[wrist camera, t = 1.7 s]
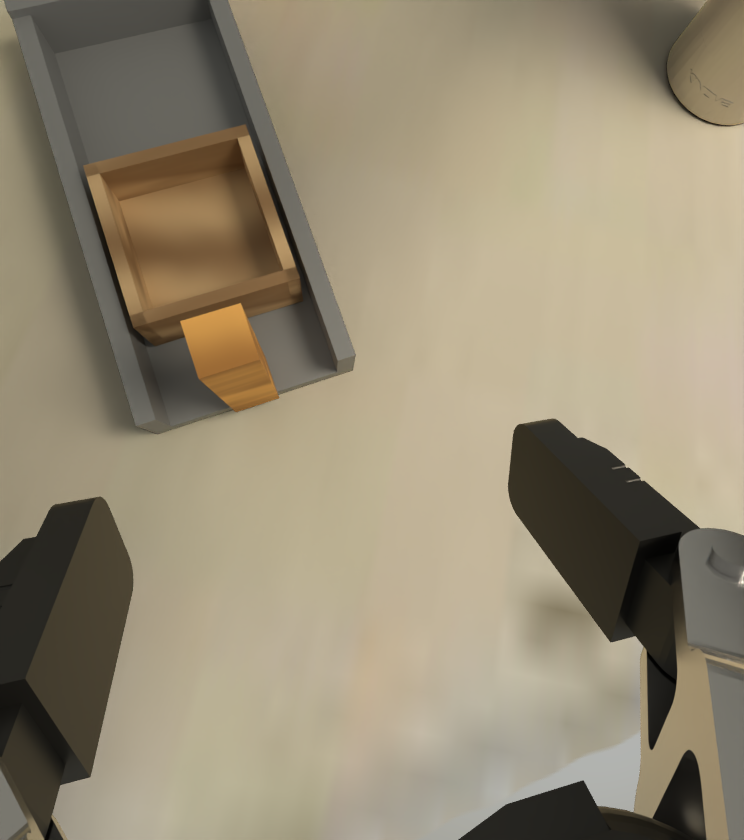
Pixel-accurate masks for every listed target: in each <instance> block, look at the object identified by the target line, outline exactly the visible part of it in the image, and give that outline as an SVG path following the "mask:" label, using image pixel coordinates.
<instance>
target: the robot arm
mask: <svg viewBox="0 0 744 840" xmlns="http://www.w3.org/2000/svg"><path fill="white" fill-rule="evenodd" d="M667 74H668V78H669V83H670V85H671V87H672V89H673V92H674V94H675V95H676V96H677V98H678V99H679V101H680V102H681V103H682V104H683V105H684V106H685V107H686V108H687V109H688V110H689V111H690V112H692V113H693V114H695V115H696V116H698V117H699V118H702V119H704V120H706V121H708V122H711V123H716V124H720V125H736V124H741V123H744V0H707V1H706V3H705V4H704V5H703V7H702V8H701V9H700V11H699V12H698V13H697V15H696V16H695V17H694V18H693V20H692V21H691V22H690V24H689V25H688V26H687V28H686V29H685V30H684V32H683V33H682V34H681V35H680V37H679V38H678V39H677V41H676V42H675V43H674V45H673V47H672V49H671V51H670V52H669V56H668V61H667ZM508 492H509V498H510V501H511V504H512V507H513V509H514V511H515V513H516V514H517V516H518V517H519V518H520V520H521V521H522V523H523V524H524V525H525V527H526V528H527V529H528V531H529V532H530V533H531V535H532V536H533V538H534V539H535V540H536V542H537V543H538V544H539V546H540V547H541V548H542V550H543V551H544V552H545V554H546V555H547V557H548V558H549V559H550V561H551V562H552V563H553V565H554V566H555V567H556V569H557V570H558V572H559V573H560V574H561V576H562V577H563V578H564V580H565V581H566V582H567V584H568V585H569V586H570V588H571V589H572V591H573V592H574V593H575V595H576V596H577V597H578V599H579V600H580V601H581V603H582V604H583V606H584V607H585V608H586V610H587V611H588V612H589V614H590V615H591V616H592V618H593V619H594V620H595V622H596V623H597V625H598V626H599V627H600V629H601V630H602V631H603V633H604V634H605V635H606V637H607V638H608V640H609V641H610V642H615V641H618V640H622V639H626V638H630V637H633V636H636V637H637V639H638V640H639V641H640V642H641V644H642V645H643V646H644V647H643V650H642V653H641V657H640V714H641V764H640V774H639V781H638V785H637V790H636V797H635V805H634V812H630V811H627V810H622V809H616V808H609V807H601V806H597V805H596V803H595V801H594V799H593V797H592V796H591V794H590V792H589V790H588V788H587V786H586V784H585V783H584V781H580V782H577V783H573V784H570V785H567V786H564V787H561V788H558V789H554V790H551V791H548V792H545V793H541V794H538V795H535V796H532V797H529V798H525V799H522V800H519V801H516V802H513V803H509V804H507V805H505V806H504V807H502V808H501V809H499V810H498V811H497V812H495V813H494V814H493V815H491V816H490V817H489V818H487V819H486V820H484V821H483V822H482V823H480V824H479V825H478V826H476V827H475V828H474V829H472V830H471V831H470V832H468V833H467V834H466V835H464V836H463V837H461V838H460V839H459V840H744V535H741V534H738V533H735V532H731V531H727V530H722V529H714V528H701V529H700V528H699V527H698V526H697V525H696V524H694V523H693V522H692V521H691V520H690V519H689V518H687V517H686V516H685V515H684V514H683V513H682V512H680V511H679V510H678V509H677V508H676V507H674V506H673V505H672V504H671V503H670V502H669V501H667V500H666V499H665V498H664V497H663V496H662V495H660V494H659V493H658V492H657V491H656V490H655V489H653V488H652V487H651V486H650V485H649V484H647V483H646V482H645V481H641V480H640V477H639V476H638V475H637V474H636V473H635V472H633V471H632V470H631V469H630V468H626V467H625V464H624V463H623V462H622V461H620V460H619V459H618V458H617V457H616V456H615V455H613V454H612V453H611V452H610V451H609V450H608V449H606V448H604V447H602V446H599V445H597V444H595V443H593V442H591V441H589V440H587V439H585V438H577V437H576V436H575V435H574V434H573V433H571V432H570V431H569V430H568V429H567V428H566V427H565V426H564V425H563V424H561V423H560V422H559V421H558V420H556V419H547V420H541V421H536V422H530V423H524V424H519V425H517V426H516V428H515V430H514V434H513V442H512V452H511V461H510V471H509V481H508ZM132 591H133V570H132V565H131V561H130V558H129V555H128V552H127V550H126V548H125V545H124V543H123V540H122V538H121V535H120V533H119V530H118V528H117V525H116V523H115V521H114V518H113V516H112V513H111V511H110V508H109V506H108V504H107V502H106V501H105V500H104V499H103V498H102V497H96V498H90V499H84V500H78V501H73V502H67V503H61V504H56V505H54V506H52V507H51V509H50V510H49V512H48V514H47V516H46V518H45V520H44V522H43V524H42V526H41V528H40V530H39V532H38V534H37V536H36V537H33V538H27V539H23V540H22V541H21V542H20V543H19V544H18V545H17V546H16V547H15V548H14V549H13V550H12V551H11V552H10V553H9V554H8V555H7V556H6V557H5V558H3V559H2V560H1V561H0V840H68V839H67V837H66V836H65V834H64V832H63V830H62V828H61V827H60V825H59V823H58V821H57V820H56V818H55V817H54V816H53V814H52V813H53V809H54V805H55V802H56V798H57V794H58V791H59V787H60V785H62V784H66V783H70V782H74V781H77V780H81V779H85V778H89V777H91V772H92V768H93V763H94V759H95V755H96V750H97V746H98V741H99V737H100V733H101V728H102V724H103V719H104V715H105V711H106V706H107V702H108V697H109V693H110V689H111V684H112V680H113V675H114V671H115V667H116V662H117V658H118V653H119V649H120V645H121V640H122V636H123V631H124V627H125V623H126V618H127V614H128V609H129V605H130V601H131V596H132Z"/></svg>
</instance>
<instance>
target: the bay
mask: <svg viewBox="0 0 744 840" xmlns="http://www.w3.org/2000/svg"><path fill="white" fill-rule="evenodd" d="M4 2H5V6H6V9H7V12H8V13H9V15H10V16H11V18H12V20H13V24H14V27H15V30H16V33H17V37H18V40H19V43H20V47H21V50H22V53H23V56H24V60H25V63H26V66H27V70H28V73H29V76H30V80H31V83H32V86H33V89H34V93H35V96H36V99H37V103H38V106H39V109H40V112H41V116H42V119H43V122H44V126H45V129H46V132H47V136H48V139H49V142H50V145H51V149H52V152H53V155H54V159H55V162H56V165H57V168H58V172H59V175H60V178H61V182H62V185H63V188H64V192H65V195H66V198H67V201H68V205H69V208H70V211H71V215H72V218H73V221H74V224H75V228H76V231H77V234H78V238H79V241H80V244H81V248H82V251H83V254H84V257H85V261H86V264H87V267H88V271H89V274H90V277H91V280H92V284H93V287H94V290H95V294H96V297H97V300H98V304H99V307H100V310H101V313H102V317H103V320H104V323H105V327H106V330H107V333H108V336H109V340H110V343H111V346H112V350H113V353H114V356H115V360H116V363H117V366H118V369H119V373H120V376H121V379H122V383H123V386H124V389H125V392H126V396H127V399H128V402H129V406H130V409H131V412H132V416H133V419H134V422H135V425H136V426H137V427H139V428H142V429H145V430H148V431H151V432H154V433H156V434H160V433H163V432H166V431H169V430H172V429H175V428H178V427H181V426H184V425H187V424H190V423H193V422H196V421H199V420H202V419H206V418H209V417H212V416H215V415H218V414H221V413H224V412H227V411H230V410H233V409H232V408H231V407H230V406H229V405H227V404H226V403H225V402H224V401H223V400H222V399H221V398H220V397H218V396H217V395H216V394H215V393H214V392H213V391H212V390H211V389H209V388H208V387H207V386H206V385H205V384H204V383H203V382H202V381H201V380H199V378H198V375H197V372H196V369H195V366H194V363H193V360H192V357H191V353H190V350H189V347H188V344H187V341H186V338H185V337H184V338H180V339H177V340H174V341H171V342H167V343H164V344H161V345H157V346H154V345H153V344H152V343H150V342H149V341H148V340H147V339H146V338H145V337H143V336H142V335H141V334H140V333H139V332H138V331H136V330H135V329H134V328H133V325H132V322H131V319H130V315H129V312H128V309H127V306H126V303H125V299H124V296H123V293H122V290H121V286H120V283H119V280H118V277H117V274H116V270H115V267H114V264H113V261H112V257H111V254H110V251H109V248H108V245H107V241H106V238H105V235H104V232H103V228H102V225H101V222H100V219H99V216H98V212H97V209H96V206H95V203H94V199H93V196H92V193H91V190H90V187H89V183H88V180H87V177H86V174H85V170H84V167H83V165H87V164H91V163H95V162H99V161H103V160H107V159H111V158H115V157H119V156H123V155H127V154H130V153H134V152H138V151H142V150H146V149H150V148H154V147H158V146H162V145H166V144H170V143H174V142H178V141H182V140H186V139H190V138H193V137H197V136H201V135H205V134H209V133H213V132H217V131H221V130H225V129H229V128H233V127H237V126H241V125H245V124H246V127H247V130H248V132H249V135H250V138H251V141H252V144H253V147H254V149H255V152H256V155H257V158H258V161H259V164H260V166H261V169H262V172H263V175H264V178H265V180H266V183H267V186H268V189H269V192H270V195H271V197H272V200H273V203H274V206H275V209H276V212H277V214H278V217H279V220H280V223H281V226H282V228H283V231H284V234H285V237H286V240H287V243H288V245H289V248H290V251H291V254H292V257H293V260H294V262H295V265H296V268H297V271H298V274H299V276H300V282H301V289H302V297H303V301H302V302H298V303H295V304H292V305H289V306H285V307H282V308H279V309H276V310H272V311H269V312H266V313H262V314H259V315H256V316H253V317H249V318H248V320H249V323H250V325H251V327H252V329H253V331H254V333H255V336H256V338H257V340H258V342H259V344H260V346H261V349H262V351H263V353H264V355H265V358H266V360H267V363H268V366H269V369H270V372H271V375H272V378H273V381H274V384H275V387H276V390H277V393H278V395H279V394H282V393H285V392H288V391H291V390H294V389H297V388H300V387H303V386H306V385H309V384H312V383H315V382H318V381H321V380H325V379H328V378H331V377H334V376H337V375H340V374H343V373H346V372H349V371H352V370H353V366H354V361H355V356H356V354H355V351H354V349H353V346H352V343H351V340H350V338H349V335H348V332H347V329H346V327H345V324H344V321H343V318H342V315H341V313H340V310H339V307H338V304H337V302H336V299H335V296H334V293H333V290H332V288H331V285H330V282H329V279H328V277H327V274H326V271H325V268H324V266H323V263H322V260H321V257H320V254H319V252H318V249H317V246H316V243H315V241H314V238H313V235H312V232H311V230H310V227H309V224H308V221H307V218H306V216H305V213H304V210H303V207H302V205H301V202H300V199H299V196H298V193H297V191H296V188H295V185H294V182H293V180H292V177H291V174H290V171H289V169H288V166H287V163H286V160H285V157H284V155H283V152H282V149H281V146H280V144H279V141H278V138H277V135H276V133H275V130H274V127H273V124H272V121H271V119H270V116H269V113H268V110H267V108H266V105H265V102H264V99H263V96H262V94H261V91H260V88H259V85H258V83H257V80H256V77H255V74H254V72H253V69H252V66H251V63H250V60H249V58H248V55H247V52H246V49H245V47H244V44H243V41H242V38H241V35H240V33H239V30H238V27H237V24H236V22H235V19H234V16H233V13H232V11H231V8H230V5H229V2H228V0H4Z"/></svg>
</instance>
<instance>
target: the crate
mask: <svg viewBox="0 0 744 840" xmlns="http://www.w3.org/2000/svg"><path fill="white" fill-rule="evenodd" d="M83 167H84V170H85V174H86V177H87V180H88V183H89V187H90V190H91V193H92V196H93V199H94V203H95V206H96V209H97V212H98V216H99V219H100V222H101V225H102V228H103V232H104V235H105V238H106V241H107V245H108V248H109V251H110V254H111V257H112V261H113V264H114V267H115V270H116V274H117V277H118V280H119V283H120V286H121V290H122V293H123V296H124V299H125V303H126V306H127V309H128V312H129V315H130V319H131V322H132V325H133V328H134V329H135V330H136V331H138V332H139V333H140V334H141V335H142V336H143V337H145V338H146V339H147V340H148V341H149V342H150V343H152V344H153V345H154V346H157V345H161V344H164V343H167V342H171V341H174V340H177V339H180V338H184V337H185V338H186V341H187V344H188V347H189V350H190V353H191V357H192V360H193V363H194V366H195V369H196V372H197V375H198V378H199V380H201V381H202V382H203V383H204V384H205V385H206V386H207V387H208V388H209V389H211V390H212V391H213V392H214V393H215V394H216V395H217V396H218V397H220V398H221V399H222V400H223V401H224V402H225V403H226V404H227V405H229V406H230V407H231V408H232V409H233V410H234V411H235V412H238V411H241V410H244V409H247V408H250V407H253V406H256V405H259V404H262V403H265V402H268V401H271V400H274V399H278V398H279V396H278V393H277V390H276V387H275V384H274V381H273V378H272V375H271V372H270V369H269V366H268V363H267V360H266V358H265V355H264V353H263V351H262V349H261V346H260V344H259V342H258V340H257V338H256V336H255V333H254V331H253V329H252V327H251V325H250V323H249V320H248V318H249V317H253V316H256V315H259V314H262V313H266V312H269V311H272V310H276V309H279V308H282V307H285V306H289V305H292V304H295V303H298V302H302V301H303V297H302V289H301V282H300V276H299V274H298V271H297V268H296V265H295V262H294V260H293V257H292V254H291V251H290V248H289V245H288V243H287V240H286V237H285V234H284V231H283V228H282V226H281V223H280V220H279V217H278V214H277V212H276V209H275V206H274V203H273V200H272V197H271V195H270V192H269V189H268V186H267V183H266V180H265V178H264V175H263V172H262V169H261V166H260V164H259V161H258V158H257V155H256V152H255V149H254V147H253V144H252V141H251V138H250V135H249V132H248V130H247V127H246V124H245V125H241V126H237V127H233V128H229V129H225V130H221V131H217V132H213V133H209V134H205V135H201V136H197V137H193V138H190V139H186V140H182V141H178V142H174V143H170V144H166V145H162V146H158V147H154V148H150V149H146V150H142V151H138V152H134V153H130V154H127V155H123V156H119V157H115V158H111V159H107V160H103V161H99V162H95V163H91V164H87V165H83Z"/></svg>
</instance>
